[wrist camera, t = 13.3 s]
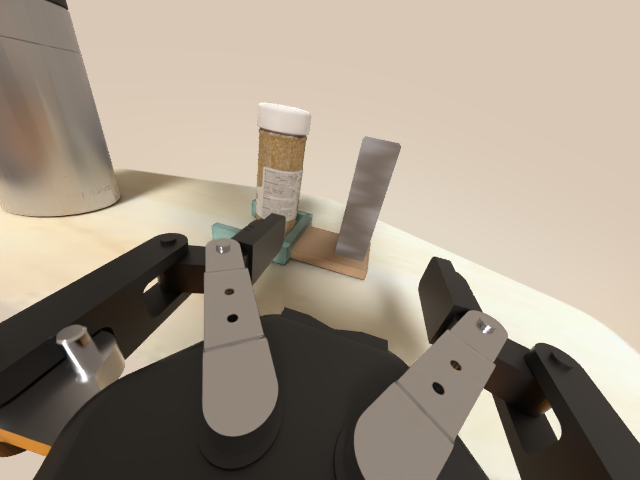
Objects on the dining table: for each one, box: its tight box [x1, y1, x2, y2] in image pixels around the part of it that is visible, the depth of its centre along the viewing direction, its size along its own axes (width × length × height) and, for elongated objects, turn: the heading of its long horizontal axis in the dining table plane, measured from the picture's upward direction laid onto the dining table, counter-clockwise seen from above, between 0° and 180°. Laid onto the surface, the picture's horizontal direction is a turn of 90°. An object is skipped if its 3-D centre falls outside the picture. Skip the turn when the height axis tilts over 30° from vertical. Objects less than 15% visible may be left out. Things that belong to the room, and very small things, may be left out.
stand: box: [212, 137, 401, 280], centre depth 23 cm, size 16×9×12 cm, turn 75°
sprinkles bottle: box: [256, 103, 311, 239], centre depth 23 cm, size 5×5×14 cm
